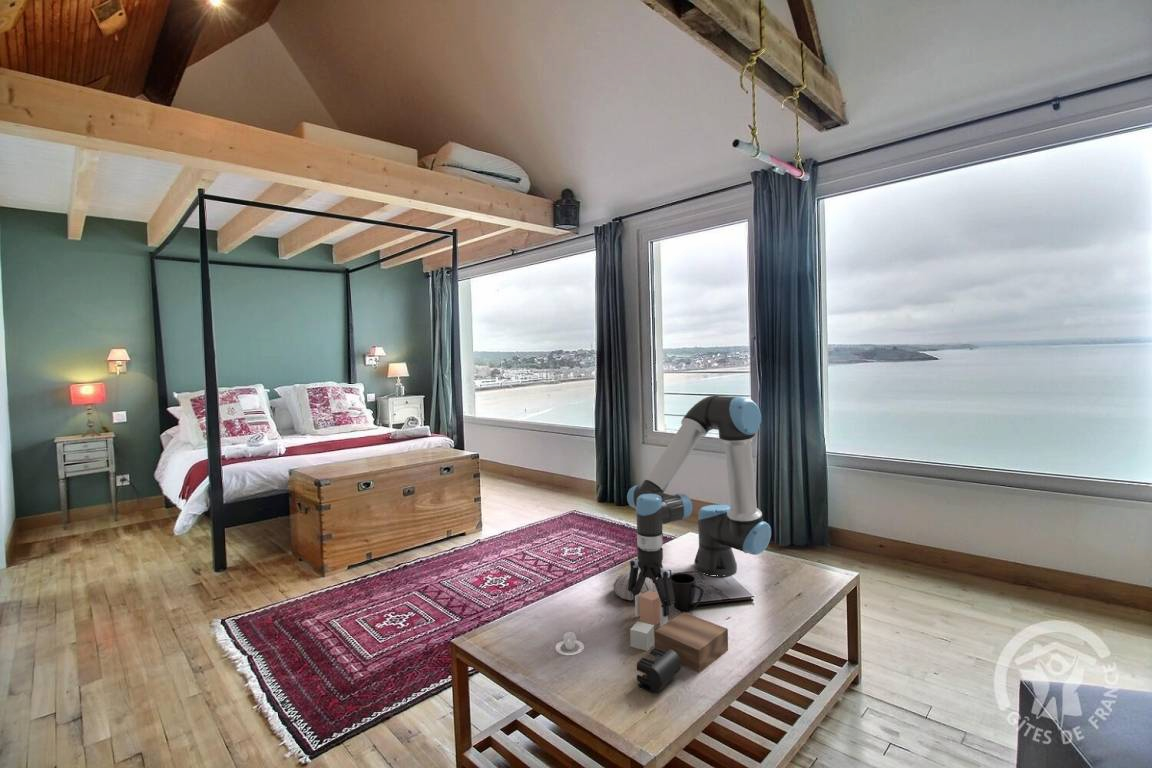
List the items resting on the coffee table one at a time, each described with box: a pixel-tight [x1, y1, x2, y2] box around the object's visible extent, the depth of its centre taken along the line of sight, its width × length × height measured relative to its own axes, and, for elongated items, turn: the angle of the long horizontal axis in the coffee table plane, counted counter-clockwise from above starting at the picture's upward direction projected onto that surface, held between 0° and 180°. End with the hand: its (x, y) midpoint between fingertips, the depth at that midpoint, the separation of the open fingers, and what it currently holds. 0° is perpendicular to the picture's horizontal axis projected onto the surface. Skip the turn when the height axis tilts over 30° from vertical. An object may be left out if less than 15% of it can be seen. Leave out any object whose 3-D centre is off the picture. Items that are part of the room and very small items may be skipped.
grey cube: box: [629, 620, 655, 652], centre depth 154 cm, size 5×5×5 cm
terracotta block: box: [639, 590, 662, 627], centre depth 166 cm, size 5×5×8 cm
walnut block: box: [654, 611, 729, 673], centre depth 149 cm, size 14×14×6 cm
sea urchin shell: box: [612, 569, 655, 601], centre depth 184 cm, size 13×14×8 cm
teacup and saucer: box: [555, 631, 585, 656], centre depth 154 cm, size 9×8×4 cm
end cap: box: [636, 647, 682, 694], centre depth 136 cm, size 10×7×7 cm
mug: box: [671, 572, 705, 613], centre depth 172 cm, size 8×12×10 cm
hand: (651, 620), depth 166 cm, fingers open, 9 cm apart
